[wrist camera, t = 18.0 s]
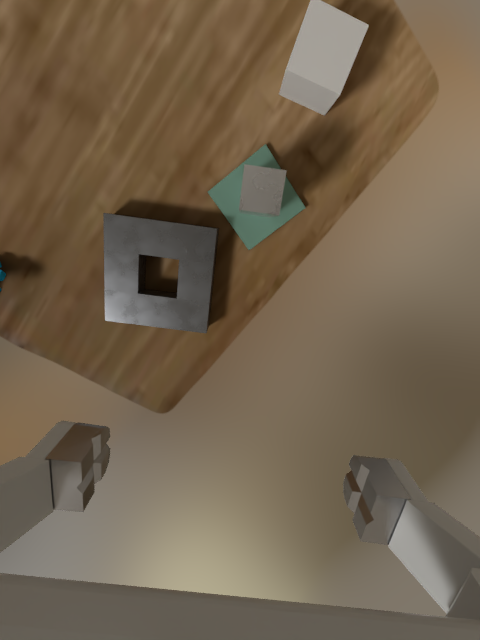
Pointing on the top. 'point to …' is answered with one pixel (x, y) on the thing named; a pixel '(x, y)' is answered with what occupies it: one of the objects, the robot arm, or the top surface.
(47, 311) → the top surface
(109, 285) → the socket block
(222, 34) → the top surface
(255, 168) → the steel bar
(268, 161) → the rubber mat
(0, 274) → the gear
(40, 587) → the robot arm
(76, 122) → the top surface
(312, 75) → the plain white cube
